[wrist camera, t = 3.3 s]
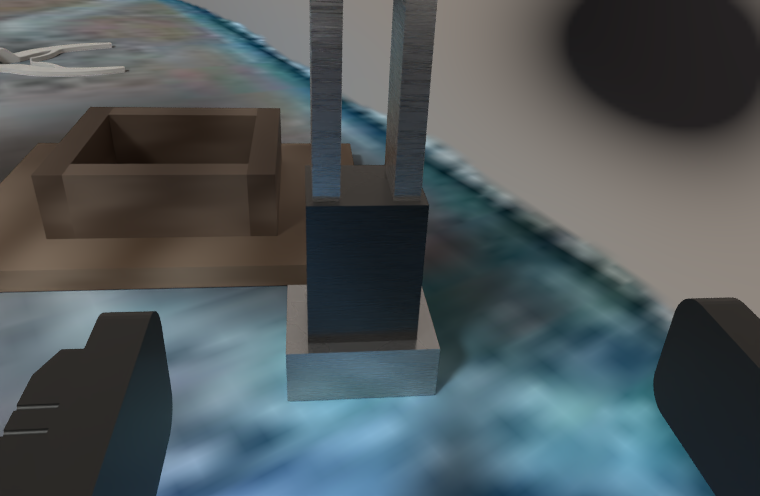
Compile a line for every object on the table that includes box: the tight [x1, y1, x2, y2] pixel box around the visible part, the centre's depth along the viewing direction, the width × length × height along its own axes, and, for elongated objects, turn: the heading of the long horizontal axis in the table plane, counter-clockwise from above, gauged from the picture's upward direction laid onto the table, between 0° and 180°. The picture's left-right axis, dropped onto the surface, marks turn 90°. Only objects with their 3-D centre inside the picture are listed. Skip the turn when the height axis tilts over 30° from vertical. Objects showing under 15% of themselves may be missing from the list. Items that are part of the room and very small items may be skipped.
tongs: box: [286, 0, 440, 401], centre depth 19 cm, size 5×4×18 cm
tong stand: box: [0, 107, 354, 292], centre depth 32 cm, size 18×14×4 cm
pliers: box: [0, 43, 125, 77], centre depth 55 cm, size 10×2×15 cm
